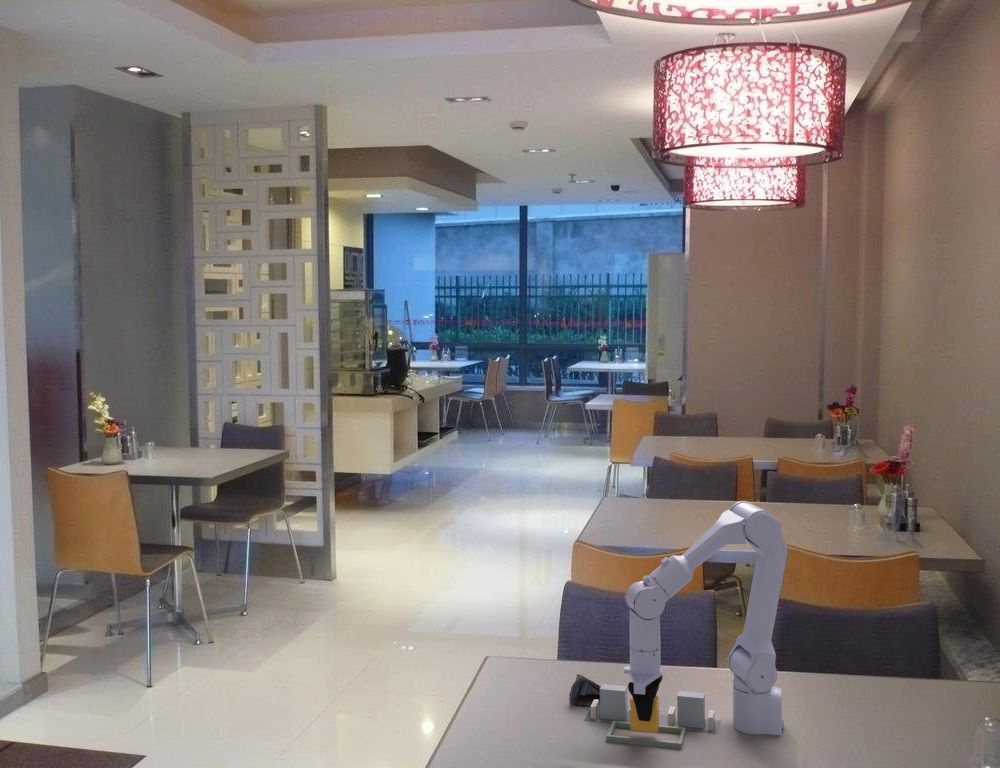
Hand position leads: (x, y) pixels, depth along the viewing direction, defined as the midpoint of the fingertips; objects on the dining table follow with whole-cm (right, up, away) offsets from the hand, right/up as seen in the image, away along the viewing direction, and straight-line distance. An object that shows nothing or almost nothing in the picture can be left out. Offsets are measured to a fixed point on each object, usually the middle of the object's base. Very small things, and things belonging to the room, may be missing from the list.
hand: (645, 716), depth 192 cm
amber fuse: (0, -2, 0) cm, 2 cm away
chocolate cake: (-7, -4, +18) cm, 19 cm away
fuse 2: (+10, -3, +5) cm, 11 cm away
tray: (0, -5, 0) cm, 5 cm away
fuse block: (+2, -4, +8) cm, 9 cm away
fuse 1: (-5, -3, +10) cm, 11 cm away
